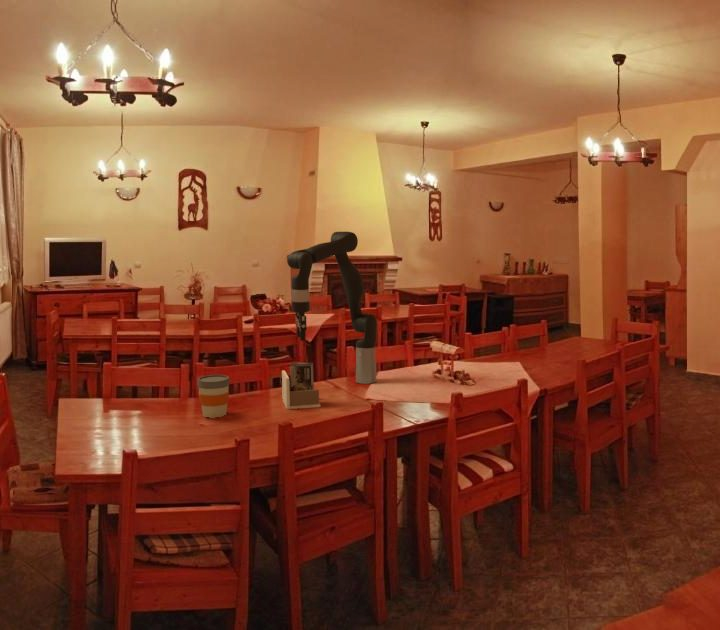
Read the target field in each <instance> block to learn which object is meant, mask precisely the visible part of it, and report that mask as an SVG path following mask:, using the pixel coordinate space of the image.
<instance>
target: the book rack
mask: <svg viewBox="0 0 720 630" xmlns="http://www.w3.org/2000/svg"><path fill="white" fill-rule="evenodd" d="M281 379H282V380H281V389H282V390H281V392H282V394H281V395H282V399H283V400H282V399H281V400H282V402H283V404H284V407H285V409H286V410H296V409H298V408H299V409H310V408H321V403H320V394H319V393H320V390H319V389H314V390H303V391H291V383H290V377H289V376H288V374H287V372H286V370H281Z"/></svg>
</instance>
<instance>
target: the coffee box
mask: <svg viewBox="0 0 720 630" xmlns="http://www.w3.org/2000/svg"><path fill="white" fill-rule="evenodd" d="M289 368H290V369H289V372H290V384H291V391H303V390H315V384H314V362H292V363H291V364H290V365H289Z"/></svg>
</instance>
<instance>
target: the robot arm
mask: <svg viewBox="0 0 720 630" xmlns="http://www.w3.org/2000/svg"><path fill="white" fill-rule="evenodd" d="M358 242H359V241H358V236H357V235H356V234H355V233H354V232H352V231H334V232H333V233H332V234H331V235H330V241H326V242H322V243H318V244H315V245H313V246H309V247H308V248H304V249H300V250H295V251H292V252H291V253H290V254H289V255H288V256H287V259H286V262H287V265H288V267H289V268H291V269H294V270H299V271H298V273H297V274H295V275H293V276H291V293H290V294H291V295H290V296H291V311H292V313H294V314H295V317H294V318H295V328H296V337H297V338H299V340H300V341H306V332H307V329H308V328H307V315H305V313H308V312H310V309H311V308H310V307H311V306H310V305H311V304H310V303H311V302H310V301H311V300H310V299H311V298H310V289H309V288H310V287H309V286H310V284H309V283H310V282H309V281H310V276H311V272H312V267H313V264H317V263H319V262H322V261H323V260H326V259H328V258H331V257H333V256H334V258H335V260H336V262H337V266H338V270H339V272H340V275H341V279H342V284H343V288H344V292H345V295H346V298H347V299H346V300H347V304H348V308H349V313H350V320H351V326H352V328H353V330H354V331H355V332H357V333H361V334H362V333H364V335H363V338H361V339H358V340H356V341H355V382H356V383H358V384H362V385H363V384H366V385H368V384H374V383H377V362H376V342H377V333H378V331H377V330H378V321H377V317H376V315H375V314H372V313H371V314H370V313H365V312H364V313H363V310H362V307H361V301H362V298H363V296H364V292H365V284H364V279H363V276H362V273H361V272H360V270H359V269H358V268H357V267H356V265H354V263H353V262H352V261H351V259H350V258H349V255H348V253H352V252H353V251H355V250H356V248H357V247H358V245H359V244H358Z"/></svg>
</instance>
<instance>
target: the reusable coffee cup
mask: <svg viewBox="0 0 720 630" xmlns="http://www.w3.org/2000/svg"><path fill="white" fill-rule="evenodd" d="M196 385H197V386H196V387H197V388H198V400H199V404H200V406H201V411H202V417H204V416H205V417H204V418H206V417H209V418H208V419H216V418H215V417H220V418H223V417H225V416H227V409H228V408H227V407H228V403H229V398H230V390H229V387H230V377H229V376H228V375H225V374H210V375H203V376H199V377H198V378H197V384H196ZM224 415H225V416H224ZM222 416H223V417H222Z"/></svg>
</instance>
